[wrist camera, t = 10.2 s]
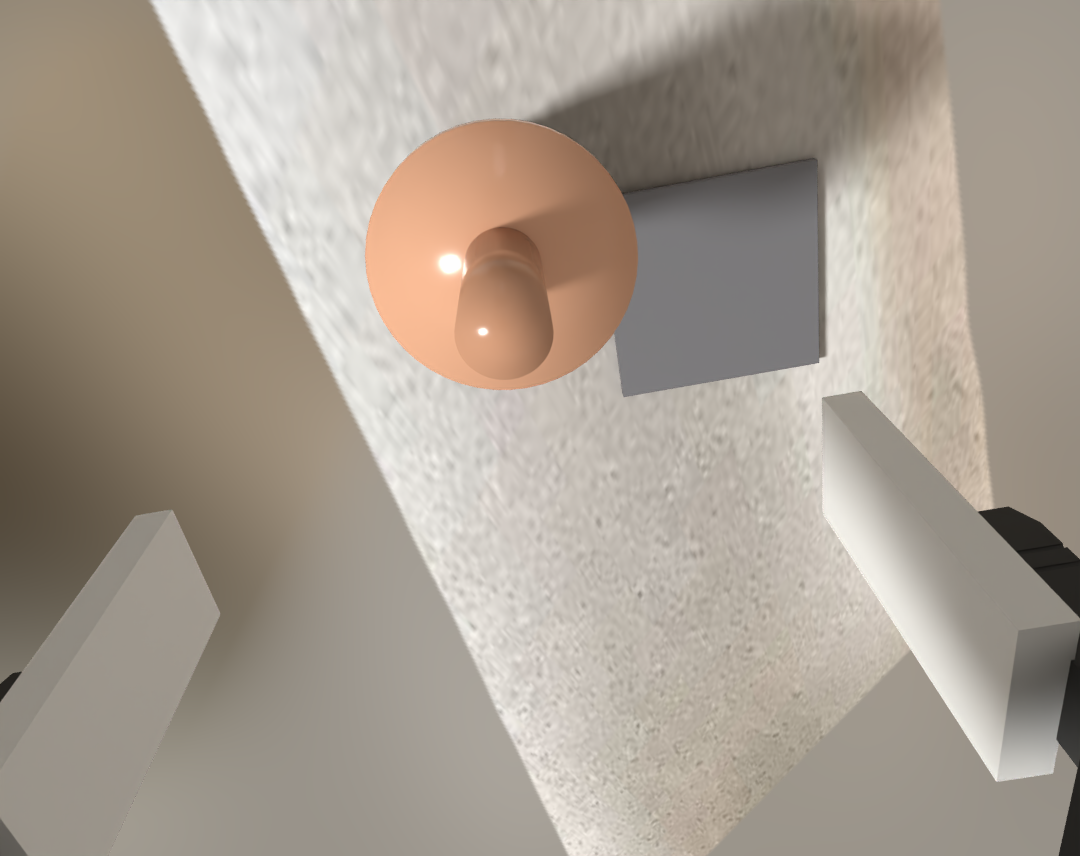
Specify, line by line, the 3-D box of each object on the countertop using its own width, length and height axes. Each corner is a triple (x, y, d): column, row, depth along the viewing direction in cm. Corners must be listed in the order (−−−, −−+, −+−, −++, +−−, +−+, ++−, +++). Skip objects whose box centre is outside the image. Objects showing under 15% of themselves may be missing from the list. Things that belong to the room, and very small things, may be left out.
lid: (335, 147, 31) (280, 191, 23) (616, 93, 31) (658, 120, 23) (405, 400, 37) (380, 507, 29) (647, 357, 36) (690, 453, 28)
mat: (595, 198, 48) (597, 200, 47) (813, 158, 47) (817, 160, 46) (622, 393, 53) (623, 396, 53) (815, 359, 53) (819, 362, 52)
